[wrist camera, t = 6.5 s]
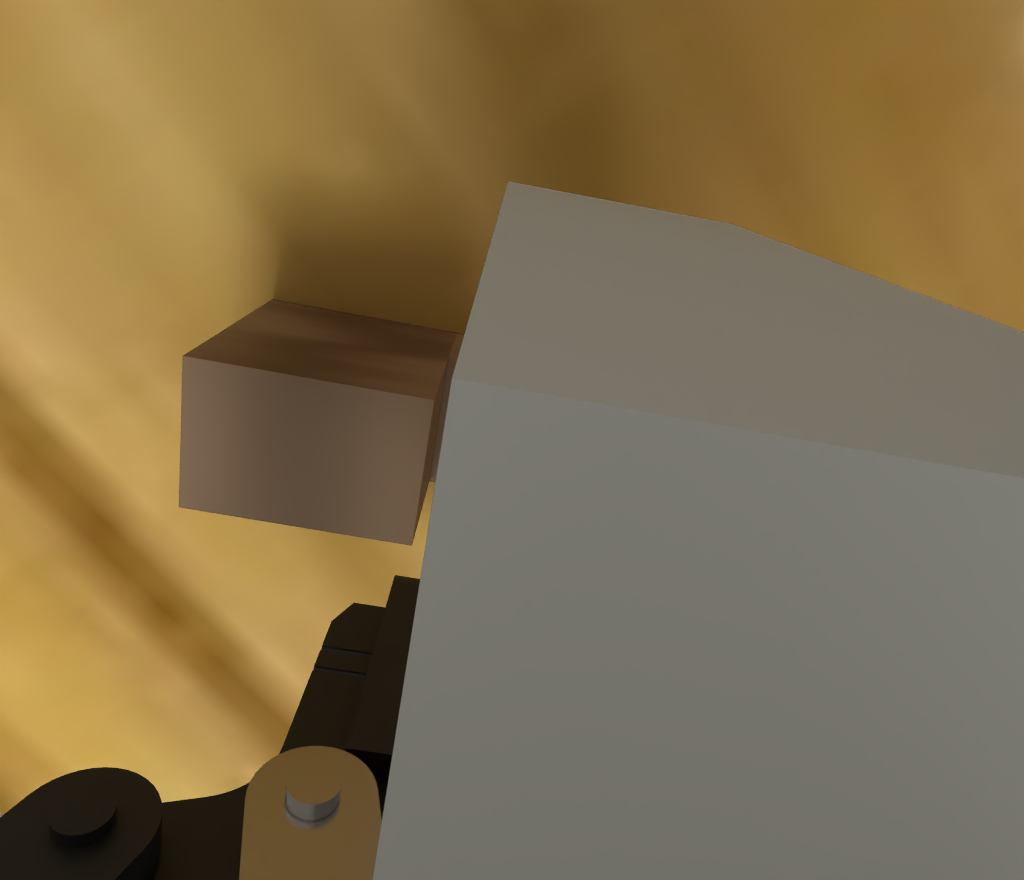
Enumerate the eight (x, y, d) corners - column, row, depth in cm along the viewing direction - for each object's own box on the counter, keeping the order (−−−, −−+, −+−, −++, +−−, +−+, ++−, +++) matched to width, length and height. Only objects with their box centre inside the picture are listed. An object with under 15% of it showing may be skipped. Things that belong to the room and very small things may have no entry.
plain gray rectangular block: (730, 223, 13) (1769, 606, 2) (577, 779, 18) (672, 1804, 7) (507, 181, 13) (452, 376, 2) (410, 754, 18) (230, 1773, 7)
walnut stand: (824, 399, 22) (927, 487, 16) (787, 506, 23) (871, 621, 18) (272, 299, 21) (183, 355, 16) (263, 416, 22) (179, 507, 17)
